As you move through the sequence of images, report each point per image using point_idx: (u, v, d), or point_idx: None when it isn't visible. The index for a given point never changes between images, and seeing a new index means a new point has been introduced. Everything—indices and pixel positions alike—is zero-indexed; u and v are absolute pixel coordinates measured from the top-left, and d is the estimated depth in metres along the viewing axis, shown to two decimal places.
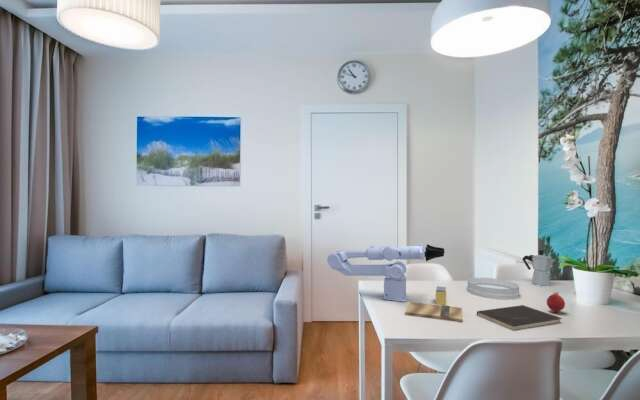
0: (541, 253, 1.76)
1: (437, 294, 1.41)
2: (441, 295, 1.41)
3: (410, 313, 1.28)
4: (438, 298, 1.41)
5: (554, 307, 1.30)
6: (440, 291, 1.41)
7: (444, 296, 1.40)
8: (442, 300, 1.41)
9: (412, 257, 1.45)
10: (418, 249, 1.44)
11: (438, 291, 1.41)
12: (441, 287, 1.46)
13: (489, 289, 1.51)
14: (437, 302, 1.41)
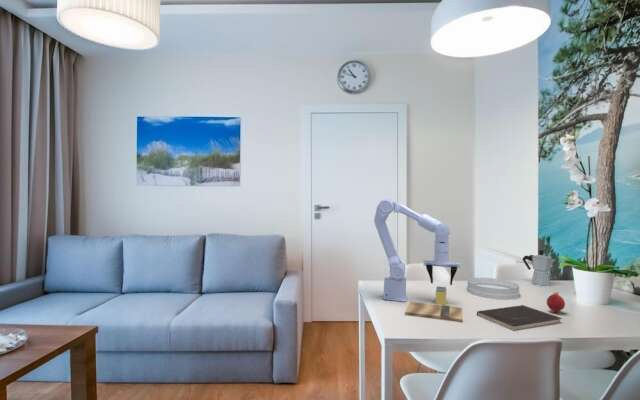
0: (541, 253, 1.76)
1: (437, 294, 1.41)
2: (441, 295, 1.41)
3: (410, 313, 1.28)
4: (438, 298, 1.41)
5: (554, 307, 1.30)
6: (440, 291, 1.41)
7: (444, 296, 1.40)
8: (442, 300, 1.41)
9: (447, 254, 1.42)
10: None
11: (438, 291, 1.41)
12: (441, 287, 1.46)
13: (489, 289, 1.51)
14: (437, 302, 1.41)
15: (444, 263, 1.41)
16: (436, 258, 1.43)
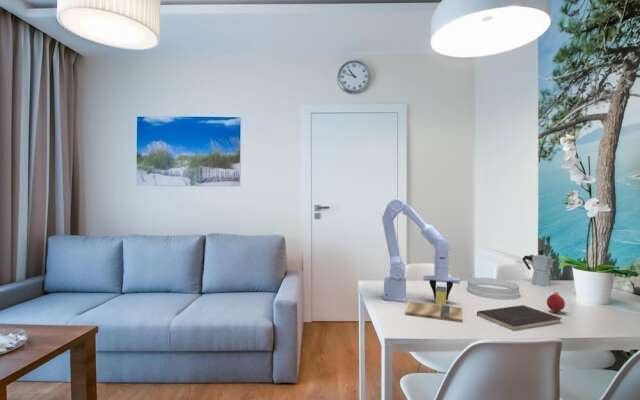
0: (541, 253, 1.76)
1: (437, 294, 1.41)
2: (441, 295, 1.41)
3: (410, 313, 1.28)
4: (438, 298, 1.41)
5: (554, 307, 1.30)
6: (440, 291, 1.41)
7: (444, 296, 1.40)
8: (442, 300, 1.41)
9: (446, 270, 1.42)
10: None
11: (438, 291, 1.41)
12: (441, 287, 1.46)
13: (489, 289, 1.51)
14: (437, 302, 1.41)
15: (444, 279, 1.41)
16: (436, 274, 1.43)
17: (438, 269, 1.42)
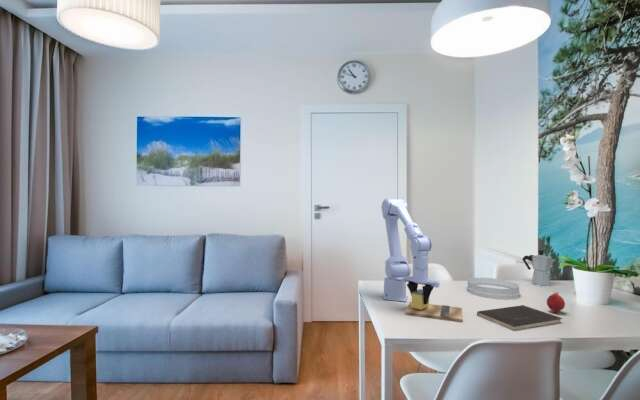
0: (541, 253, 1.76)
1: (413, 296, 1.32)
2: (417, 298, 1.30)
3: (410, 313, 1.28)
4: (414, 301, 1.31)
5: (554, 307, 1.30)
6: (416, 293, 1.31)
7: (419, 299, 1.30)
8: (417, 303, 1.30)
9: (423, 271, 1.30)
10: None
11: (414, 293, 1.31)
12: (422, 290, 1.35)
13: (489, 289, 1.51)
14: (413, 305, 1.31)
15: (420, 280, 1.30)
16: (413, 274, 1.33)
17: (414, 270, 1.32)
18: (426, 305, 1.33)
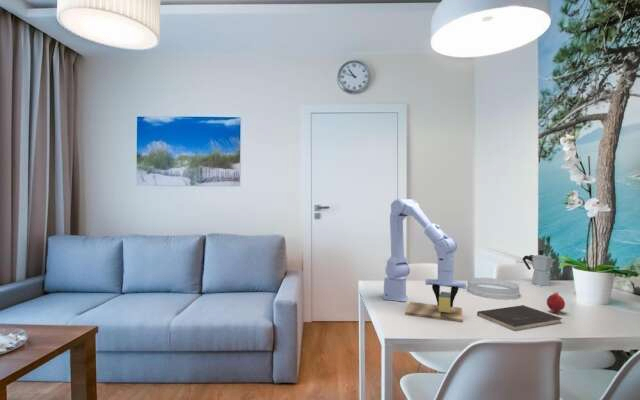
0: (541, 253, 1.76)
1: (440, 300, 1.27)
2: (445, 301, 1.27)
3: (410, 313, 1.28)
4: (441, 304, 1.27)
5: (554, 307, 1.30)
6: (444, 297, 1.27)
7: (448, 302, 1.26)
8: (446, 307, 1.26)
9: (451, 273, 1.27)
10: None
11: (441, 297, 1.27)
12: (445, 292, 1.32)
13: (489, 289, 1.51)
14: (440, 309, 1.27)
15: (448, 283, 1.27)
16: (439, 277, 1.29)
17: (441, 272, 1.28)
18: None
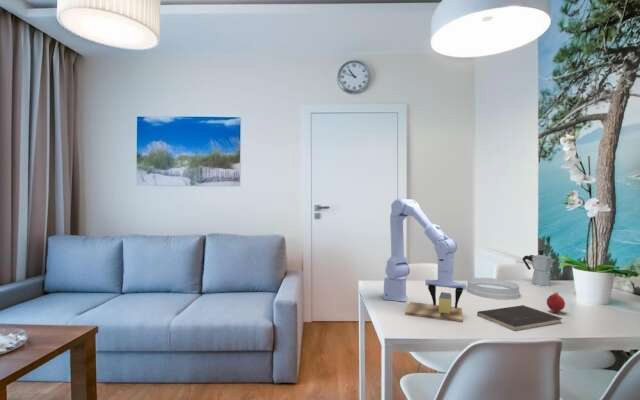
0: (541, 253, 1.76)
1: (440, 301, 1.27)
2: (445, 302, 1.27)
3: (410, 313, 1.28)
4: (441, 305, 1.27)
5: (554, 307, 1.30)
6: (444, 298, 1.27)
7: (448, 303, 1.26)
8: (446, 308, 1.26)
9: (451, 274, 1.27)
10: None
11: (441, 298, 1.27)
12: (445, 293, 1.32)
13: (489, 289, 1.51)
14: (440, 310, 1.27)
15: (448, 284, 1.27)
16: (439, 278, 1.29)
17: (441, 273, 1.28)
18: None
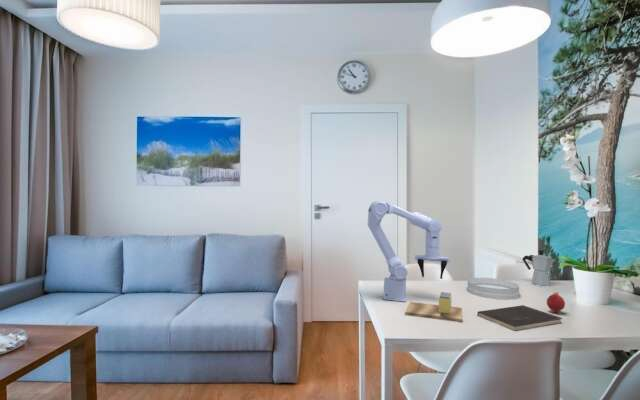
0: (541, 253, 1.76)
1: (440, 301, 1.27)
2: (445, 302, 1.27)
3: (410, 313, 1.28)
4: (441, 305, 1.27)
5: (554, 307, 1.30)
6: (444, 298, 1.27)
7: (448, 303, 1.26)
8: (446, 308, 1.26)
9: (437, 249, 1.47)
10: None
11: (441, 298, 1.27)
12: (445, 293, 1.32)
13: (489, 289, 1.51)
14: (440, 310, 1.27)
15: (434, 257, 1.46)
16: (427, 253, 1.48)
17: (429, 248, 1.47)
18: None
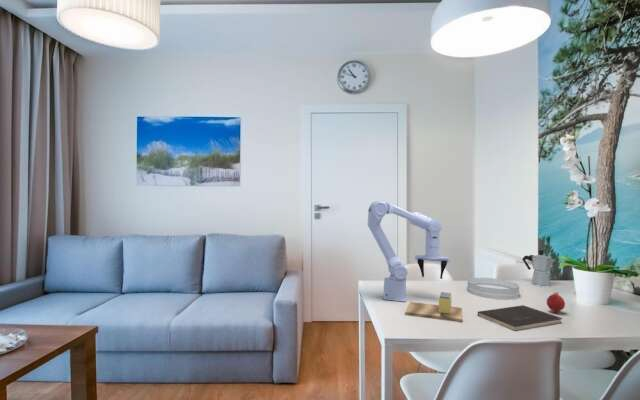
0: (541, 253, 1.76)
1: (440, 301, 1.27)
2: (445, 302, 1.27)
3: (410, 313, 1.28)
4: (441, 305, 1.27)
5: (554, 307, 1.30)
6: (444, 298, 1.27)
7: (448, 303, 1.26)
8: (446, 308, 1.26)
9: (437, 249, 1.47)
10: None
11: (441, 298, 1.27)
12: (445, 293, 1.32)
13: (489, 289, 1.51)
14: (440, 310, 1.27)
15: (434, 257, 1.46)
16: (427, 253, 1.48)
17: (429, 248, 1.47)
18: None
